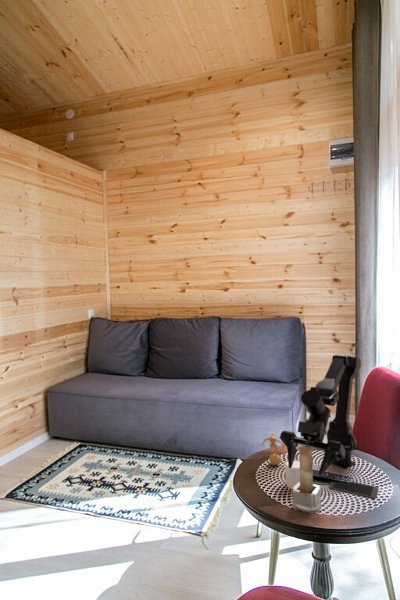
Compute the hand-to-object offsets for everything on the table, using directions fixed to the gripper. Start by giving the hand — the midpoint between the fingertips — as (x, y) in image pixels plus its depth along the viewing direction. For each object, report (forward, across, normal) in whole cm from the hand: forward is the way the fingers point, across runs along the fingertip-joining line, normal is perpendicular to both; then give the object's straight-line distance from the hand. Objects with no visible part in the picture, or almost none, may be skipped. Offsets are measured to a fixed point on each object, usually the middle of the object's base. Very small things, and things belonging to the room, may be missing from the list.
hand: (304, 471), depth 118 cm
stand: (+6, 0, +8) cm, 11 cm away
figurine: (-6, -19, +21) cm, 29 cm away
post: (+3, 0, +5) cm, 6 cm away
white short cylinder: (0, -8, +15) cm, 17 cm away
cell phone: (-5, +8, +21) cm, 23 cm away
